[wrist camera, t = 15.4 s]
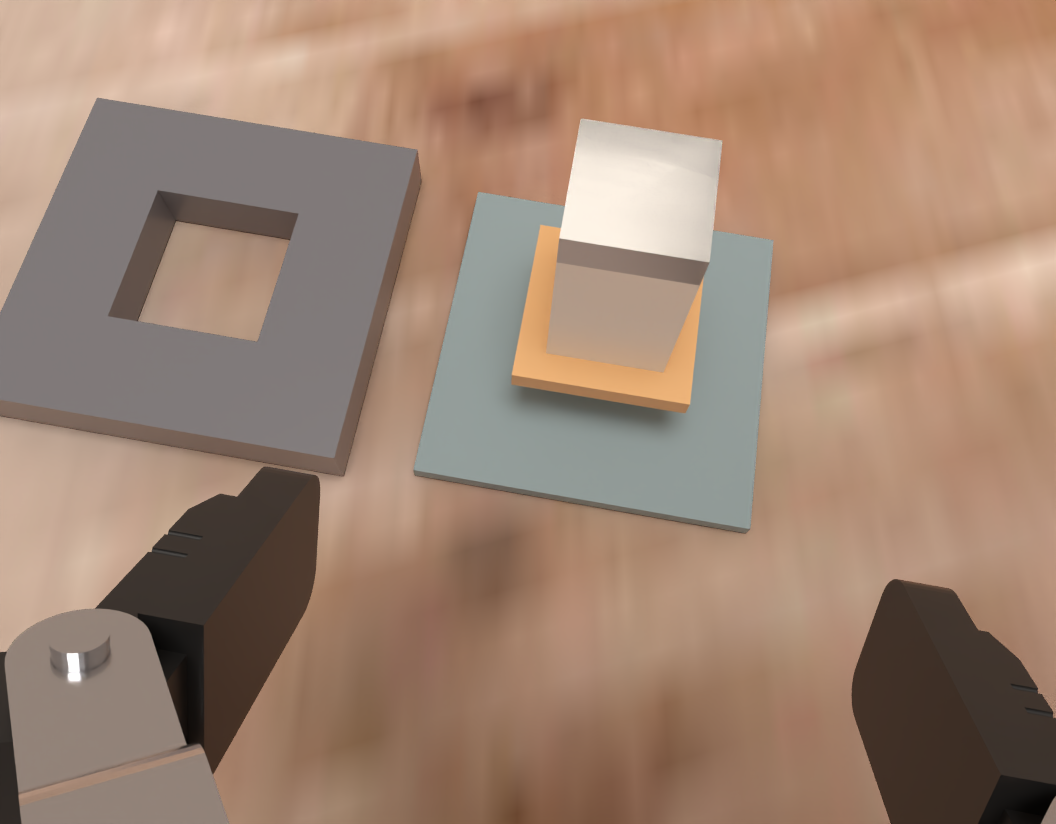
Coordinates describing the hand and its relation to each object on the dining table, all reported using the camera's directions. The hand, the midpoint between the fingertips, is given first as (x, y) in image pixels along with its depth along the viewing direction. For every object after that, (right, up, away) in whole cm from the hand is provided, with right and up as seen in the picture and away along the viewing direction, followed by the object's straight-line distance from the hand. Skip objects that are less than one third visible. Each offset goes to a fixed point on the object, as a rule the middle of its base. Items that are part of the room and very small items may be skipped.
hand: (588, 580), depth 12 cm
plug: (+2, +5, +21) cm, 22 cm away
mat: (+2, +5, +21) cm, 22 cm away
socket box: (-13, +7, +22) cm, 26 cm away
